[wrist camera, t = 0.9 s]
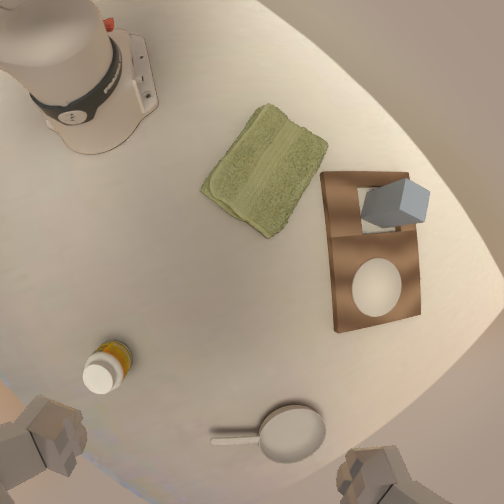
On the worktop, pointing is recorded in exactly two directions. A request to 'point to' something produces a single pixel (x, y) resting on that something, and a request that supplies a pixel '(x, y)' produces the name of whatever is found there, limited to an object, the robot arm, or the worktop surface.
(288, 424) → the saucepan
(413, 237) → the walnut board
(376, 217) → the slate block
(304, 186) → the washcloth
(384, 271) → the felt coaster
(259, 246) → the worktop surface
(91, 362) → the supplement bottle
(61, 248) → the worktop surface
